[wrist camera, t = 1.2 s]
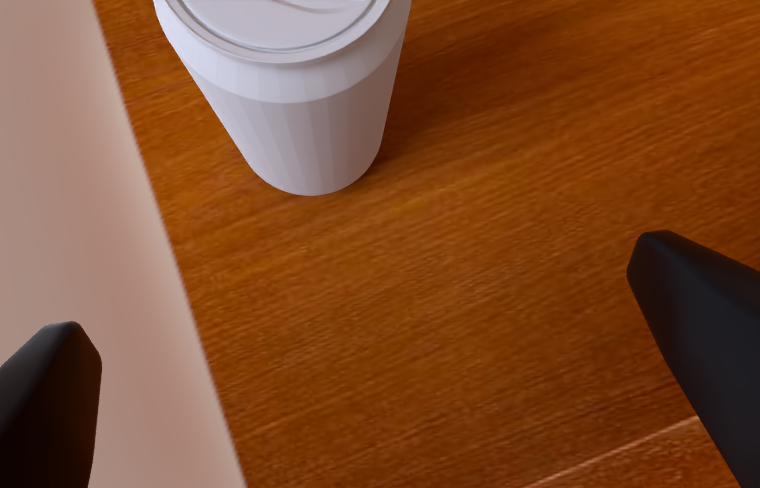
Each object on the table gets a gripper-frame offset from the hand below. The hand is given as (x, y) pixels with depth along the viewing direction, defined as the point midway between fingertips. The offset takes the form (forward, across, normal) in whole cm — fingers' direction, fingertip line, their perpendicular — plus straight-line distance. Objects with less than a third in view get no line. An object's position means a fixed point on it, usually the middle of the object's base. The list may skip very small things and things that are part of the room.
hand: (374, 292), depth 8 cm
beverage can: (+16, +1, +5) cm, 16 cm away
